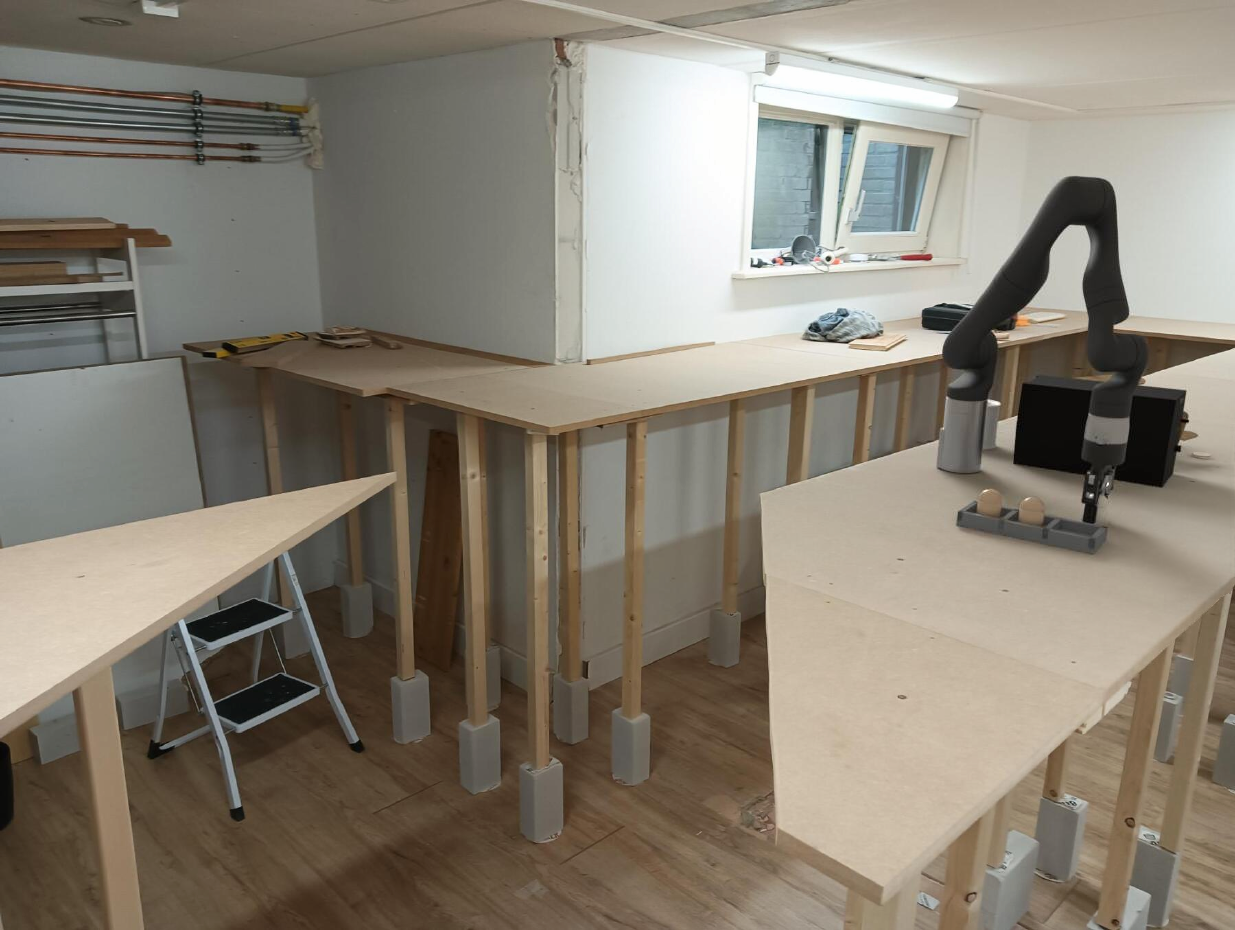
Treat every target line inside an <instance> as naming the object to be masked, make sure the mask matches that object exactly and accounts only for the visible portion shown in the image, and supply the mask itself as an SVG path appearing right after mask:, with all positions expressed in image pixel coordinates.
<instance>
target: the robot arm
mask: <svg viewBox="0 0 1235 930" xmlns="http://www.w3.org/2000/svg"><path fill="white" fill-rule="evenodd" d="M1117 206H1118V205H1117V197H1116V191H1115V188H1114V186H1113V185H1112V183H1111V182H1110V181H1109V180H1108V179H1106V178H1101V177H1096V176H1095V177H1094V176H1079V175H1069V176H1065V177H1063V178H1061V179H1060V180H1058V181H1057V182H1056V183H1055V184H1054V185H1053V186H1052V188H1051V190H1049V192H1048V193H1047V195H1046V197H1045V198H1044V201H1043V202H1042V204H1041V206H1040V207H1039V209H1038V211H1037V213H1036V214H1035V216H1034V218H1033V219H1032V222H1031V224H1030V225H1029V227H1028V228H1027V230H1026V231H1025V233H1024V235H1023V236H1022V237H1021V239H1020V240H1019V241H1018V244H1016V247H1015V248H1014V249H1013V251H1012V252H1011V253H1010V255H1008V258H1006V260H1005V261H1004V263H1002V265H1001V267H1000V268H999V270H998V271H997V272H996V273H995V275H994V276H993V278H992V280H991V282H990V283H989V284H988V286H987V287H986V288H985V290H984V291H983V292H982V294H981V295H980V297H979V298H978V299H977V301H976V302H975V303H974V305H973V306H972V307H971V309H970V310H968V312H967V313H966V314H965V315H964V317H962V318H961V320H960V321H959V322H958V323H957V324H956V325H955V326H954V328H953V329H952V330H951V331H950V332H949V333H948V335H947V336H946V338H945V340H944V342H943V345H942V351H941V352H942V353H941V356H942V360H943V362H944V364H945V365H946V367H948V368H950V369H954V370H958V371H961V370H963V373H961V375H960V376H959V377H958V378H957V379H955V380H954V381H951V383H949V384H948V385H947V387H946V388H947V389H946V397H945V404H944V405H945V406H944V407H945V408H944V415H943V416H944V417H943V427H941V428H940V429H939V436H938V437H939V439H938V446H937V457H936V465H935V467H936V468H938V469H941V470H944V471H947V472H951V473H959V474H973V473H979V472H980V471H981V466H982V458H983V451H984V450H983V441H984V432H985V423H986V414H987V404H988V400H989V395H990V393H991V390H992V388H993V385H994V381H995V375H996V367H997V362H998V356H999V355H998V354H999V344H998V338H997V337H996V334H995V333H994V332H993V330H994V329H995V328H996V327H998V326H1000V325H1001V324H1002V323H1004V322H1006V321H1008V319H1010V318H1012V317H1014V316H1015V315H1016V314H1017V313H1019V312H1020V311H1022V310H1023V309H1024V308H1025V307H1027V306H1028V305H1029V304H1030V303H1031V301H1033V300H1034V298H1035V297H1036V295H1037V294H1038V293H1039V291H1040V290H1041V289H1042V287H1043V286H1044V285H1045V283H1046V282H1047V280H1048V277H1049V273H1050V265H1051V264H1050V260H1051V258H1050V257H1051V250H1052V248H1053V246H1054V245H1055V244H1054V243H1056V241H1057V239H1058V238H1059V237H1060V236H1061V234H1062V233H1063V232H1064V231H1065V229H1067V228H1068V227H1069V226H1082V227H1083V226H1084V227H1085V230H1086V232H1087V235H1088V238H1089V244H1090V247H1089V248H1090V250H1089V256H1088V260H1087V263H1086V266H1085V268H1084V273H1083V276H1082V286H1081V287H1082V296H1083V299H1084V303H1085V307H1086V313H1087V317H1088V318H1087V319H1088V321H1087V339H1086V347H1085V348H1086V349H1085V351H1086V352H1085V353H1086V358H1087V361H1088V363H1089V364H1090V366H1092V367H1093V369H1094V370H1095V371H1097V372H1099V373H1112V374H1111V375H1112V376H1111V378H1110V379H1109V380H1108V381H1106V382H1103V383H1100V384H1097V385H1096V386H1095V387H1094V388H1093V390H1092V395H1091V401H1090V408H1089V415H1088V419H1087V422H1086V427H1085V434H1084V441H1083V448H1082V456H1081V457H1082V459H1083V460H1085V461H1087V462H1090V463H1091V464H1092V467H1091V470H1088V472H1087V473H1086V474H1085V475H1083V476H1084V481H1083V486H1082V487H1083V488H1082V495H1081V501H1080V502H1081V504H1083V505H1084V504H1085V507H1084V514H1083V522H1085V523H1090V524H1094V523H1095V522H1096V516H1097V509H1098V505H1099V500H1100V497H1101V496H1103V495H1104V496H1105V497H1106V498H1107V500H1108V499H1109V497H1110V495H1111V491H1113V489H1114V483H1115V480H1114V477H1115V470H1116V466H1117V465H1120V464H1122V463H1123V462H1124V460H1125V453H1126V447H1127V440H1128V434H1129V416H1130V410H1131V404H1132V397H1133V394H1134V392H1135V390H1136V388H1137V386H1138V383H1139V381H1140V379H1141V377H1142V378H1143V375H1144V372H1145V369H1146V367H1147V365H1148V362H1149V357H1150V349H1149V345H1148V342H1147V341H1146V339H1145V338H1144V337H1143V336H1142V335H1140V334H1136V333H1123V334H1122V333H1121V334H1115V333H1114V328H1115V326H1116V325H1118V324H1121V323H1123V322H1124V321H1126V320H1128V318H1129V316H1130V306H1129V302H1128V299H1127V294H1126V290H1125V286H1124V281H1123V276H1122V271H1121V261H1120V251H1119V250H1120V249H1119V247H1120V246H1119V228H1118V208H1117ZM1090 494H1094V496H1093V499H1092V498H1089V495H1090ZM1108 501H1109V500H1108Z"/></svg>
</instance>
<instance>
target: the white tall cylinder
mask: <svg viewBox="0 0 1235 930" xmlns="http://www.w3.org/2000/svg"><path fill="white" fill-rule="evenodd" d="M1001 406H1002V403H1001V402H1000V401H996V400H993V399H988V404H987V414H986V423H985V432H984V441H983V451H989V450H994V449H996V448H997V444H996V441H997V433H998V432H997V430H998V426H999V425H998V424H999V416H1000V415H999V414H1000V408H1001Z"/></svg>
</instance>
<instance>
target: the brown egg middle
mask: <svg viewBox="0 0 1235 930" xmlns="http://www.w3.org/2000/svg"><path fill="white" fill-rule="evenodd" d="M1045 510H1046V506H1045V504H1044V501H1043V500H1042V499H1040V498H1039V497H1037V496H1028V497H1026V498H1024V499H1023V500H1022V501H1021V503H1020V505H1019V518H1018V522H1019V523H1024V524H1029V525H1034V526H1039V527H1043V520H1044V515H1045V512H1046V511H1045Z"/></svg>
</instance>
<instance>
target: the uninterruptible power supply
mask: <svg viewBox="0 0 1235 930" xmlns="http://www.w3.org/2000/svg"><path fill="white" fill-rule="evenodd" d="M1074 378H1075V377H1062V376H1055V375H1043V374H1038V375H1036V377H1035V378H1033V379H1031V380H1030V381H1025V382H1024V381H1023V382H1022V385H1021V389H1020V390H1021V391H1020V397H1019V403H1018V404H1019V405H1018V411H1017V419H1016V424H1015V435H1014V446H1013V447H1014V448H1013V449H1014V450H1013V459H1012V464H1013V465H1018V466H1023V467H1025V466H1026V467H1030V468H1037V469H1042V468H1043V470H1049V471H1054V470H1055V471H1054V472H1061V473H1062V472H1063V473H1067V474H1068V473H1069V474H1074V475H1079V476H1085V474H1086V473H1087V472H1088V470H1091V467H1092V464H1091V463H1090V462H1087V461H1085V460H1083V459H1082V457H1081V456H1082V448H1083V441H1084V434H1085V427H1086V422H1087V419H1088V415H1089V408H1090V401H1091V395H1092V390H1093V388H1094V387H1095V386H1096V385H1097V384H1100V383H1103V381H1093V380H1084V379H1074ZM1187 392H1188V391H1187V390H1186V389H1179V388H1168V387H1159V386H1151V385H1138V386H1137V388H1136V390H1135V392H1134V394H1133V397H1132V404H1131V410H1130V416H1129V434H1128V440H1127V447H1126V453H1125V460H1124V462H1123V463H1122V464H1120V465H1117V466H1116V470H1115V477H1114V481H1117V482H1123V481H1124V482H1125V483H1130V484H1135V485H1143V486H1148V487H1153V488H1154V487H1155V488H1161V489H1162V488H1163V487H1165V484H1166V483H1167V482H1168V481H1169V479H1170V478H1171V477H1172V476H1173V474H1174V470H1175V465H1176V464H1175V463H1176V457H1177V453H1181V452H1182V451H1181V450H1182V445H1180V444H1179V443H1180V441H1179V437H1180V431H1181V425H1182V423H1186V424H1189V423H1190V419H1188V420H1186V419H1182V418H1183V411H1185V404H1186V398H1187V397H1186V395H1187ZM1178 442H1179V443H1178Z"/></svg>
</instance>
